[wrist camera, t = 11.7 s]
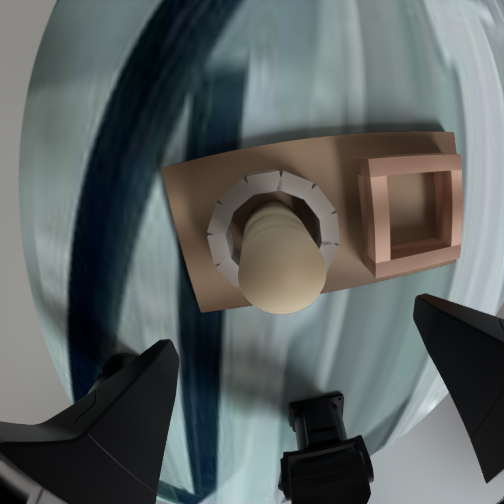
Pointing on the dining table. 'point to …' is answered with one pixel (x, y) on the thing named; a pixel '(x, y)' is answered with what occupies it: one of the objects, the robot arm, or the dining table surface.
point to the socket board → (330, 180)
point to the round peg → (279, 261)
